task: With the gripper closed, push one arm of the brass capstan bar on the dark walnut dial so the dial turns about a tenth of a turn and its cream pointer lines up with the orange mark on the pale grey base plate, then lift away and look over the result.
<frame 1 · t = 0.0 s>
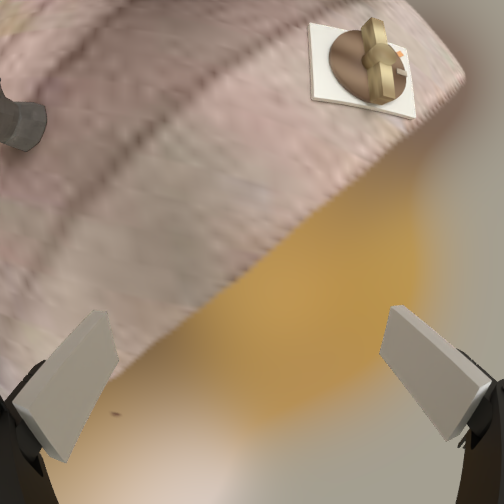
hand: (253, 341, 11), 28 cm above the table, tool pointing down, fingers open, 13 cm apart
capstan dial: (376, 60, 29), point 5 cm above the table, hinge at 0.0°
coffeepot: (27, 131, 32), on the table
base plate: (362, 70, 33), on the table
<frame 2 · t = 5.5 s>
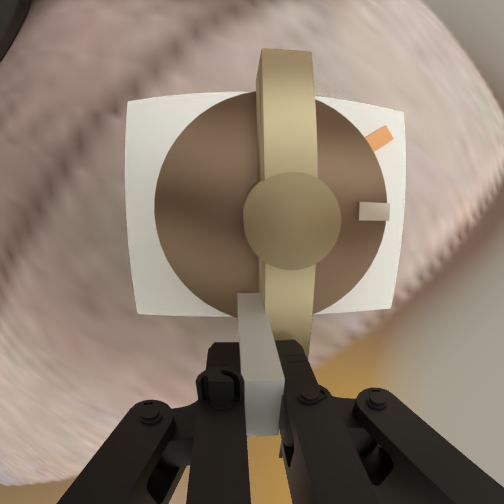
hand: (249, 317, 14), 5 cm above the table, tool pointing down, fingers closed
capstan dial: (281, 213, 13), point 5 cm above the table, hinge at 1.2°, touching gripper
base plate: (270, 205, 17), on the table
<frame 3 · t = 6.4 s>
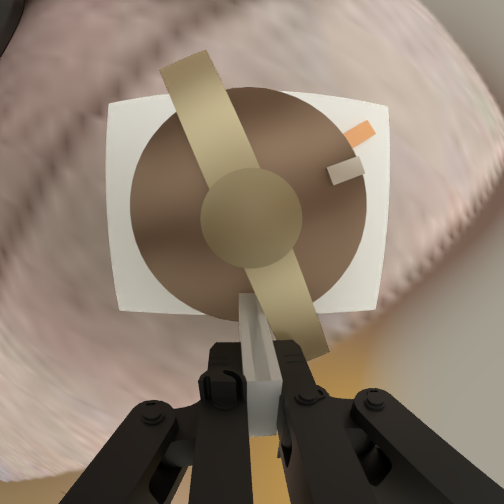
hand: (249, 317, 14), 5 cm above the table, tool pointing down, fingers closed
capstan dial: (249, 210, 12), point 5 cm above the table, hinge at 23.1°, touching gripper
base plate: (248, 203, 17), on the table
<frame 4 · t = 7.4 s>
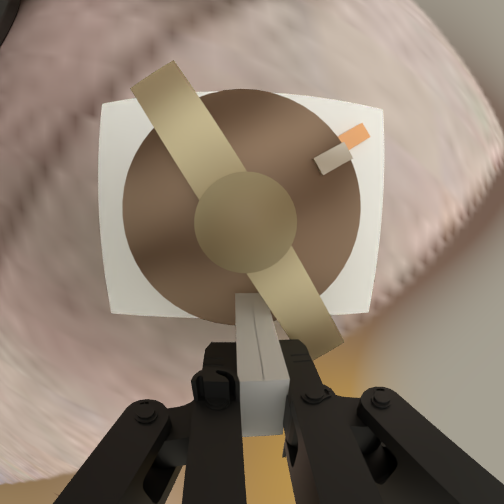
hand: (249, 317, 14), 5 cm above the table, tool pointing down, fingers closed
capstan dial: (243, 214, 12), point 5 cm above the table, hinge at 32.3°
base plate: (241, 205, 17), on the table
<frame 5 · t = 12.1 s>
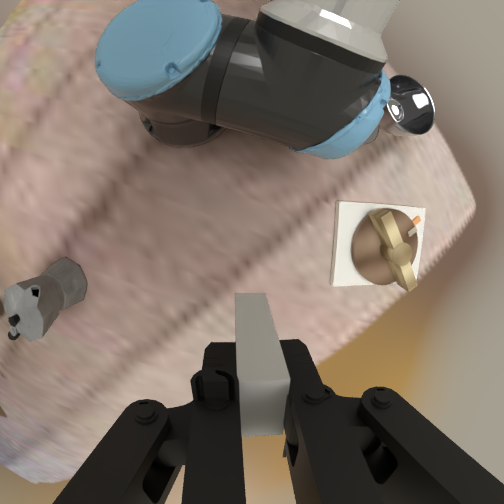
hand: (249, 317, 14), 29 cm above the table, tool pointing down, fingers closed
capstan dial: (393, 250, 40), point 5 cm above the table, hinge at 32.4°
coffeepot: (66, 283, 42), on the table
base plate: (379, 243, 44), on the table
wine glass: (360, 123, 39), on the table
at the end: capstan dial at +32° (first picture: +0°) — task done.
